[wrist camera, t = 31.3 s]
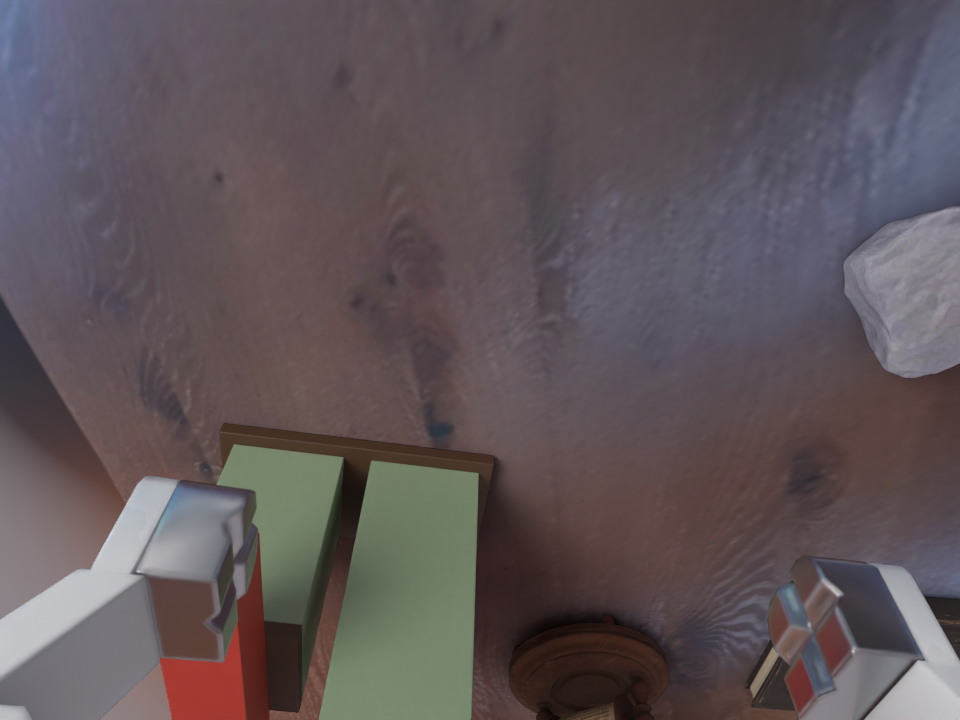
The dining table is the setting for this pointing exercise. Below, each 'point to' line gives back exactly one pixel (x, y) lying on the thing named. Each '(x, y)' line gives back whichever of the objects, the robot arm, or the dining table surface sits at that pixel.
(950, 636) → the hardcover book
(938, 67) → the dining table surface
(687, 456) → the dining table surface
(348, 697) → the step shelf
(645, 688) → the scroll
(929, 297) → the stone block
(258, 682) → the red bar
